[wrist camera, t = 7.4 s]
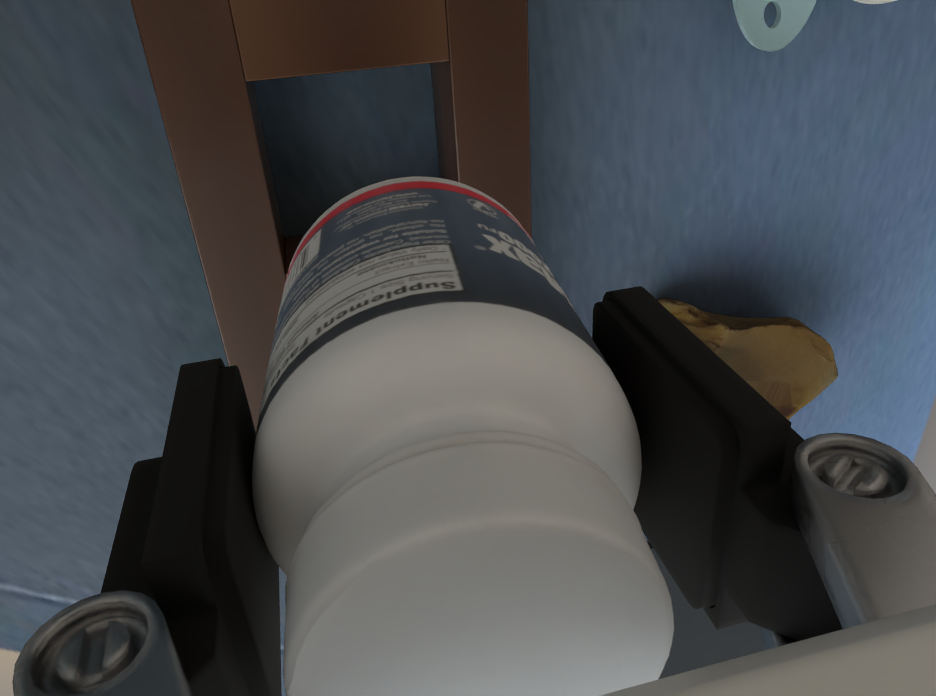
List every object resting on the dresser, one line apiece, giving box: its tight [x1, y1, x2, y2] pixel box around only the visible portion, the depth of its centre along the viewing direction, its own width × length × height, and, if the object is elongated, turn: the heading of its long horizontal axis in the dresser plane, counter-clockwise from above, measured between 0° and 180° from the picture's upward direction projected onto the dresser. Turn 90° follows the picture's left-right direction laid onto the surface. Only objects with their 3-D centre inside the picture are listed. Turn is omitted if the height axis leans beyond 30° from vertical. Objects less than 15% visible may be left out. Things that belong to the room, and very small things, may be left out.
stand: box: [131, 0, 532, 430], centre depth 26 cm, size 11×20×4 cm, turn 3°
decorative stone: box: [657, 298, 838, 420], centre depth 33 cm, size 10×9×4 cm
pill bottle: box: [252, 176, 674, 696], centre depth 11 cm, size 5×5×9 cm
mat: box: [648, 543, 764, 679], centre depth 43 cm, size 16×12×1 cm
